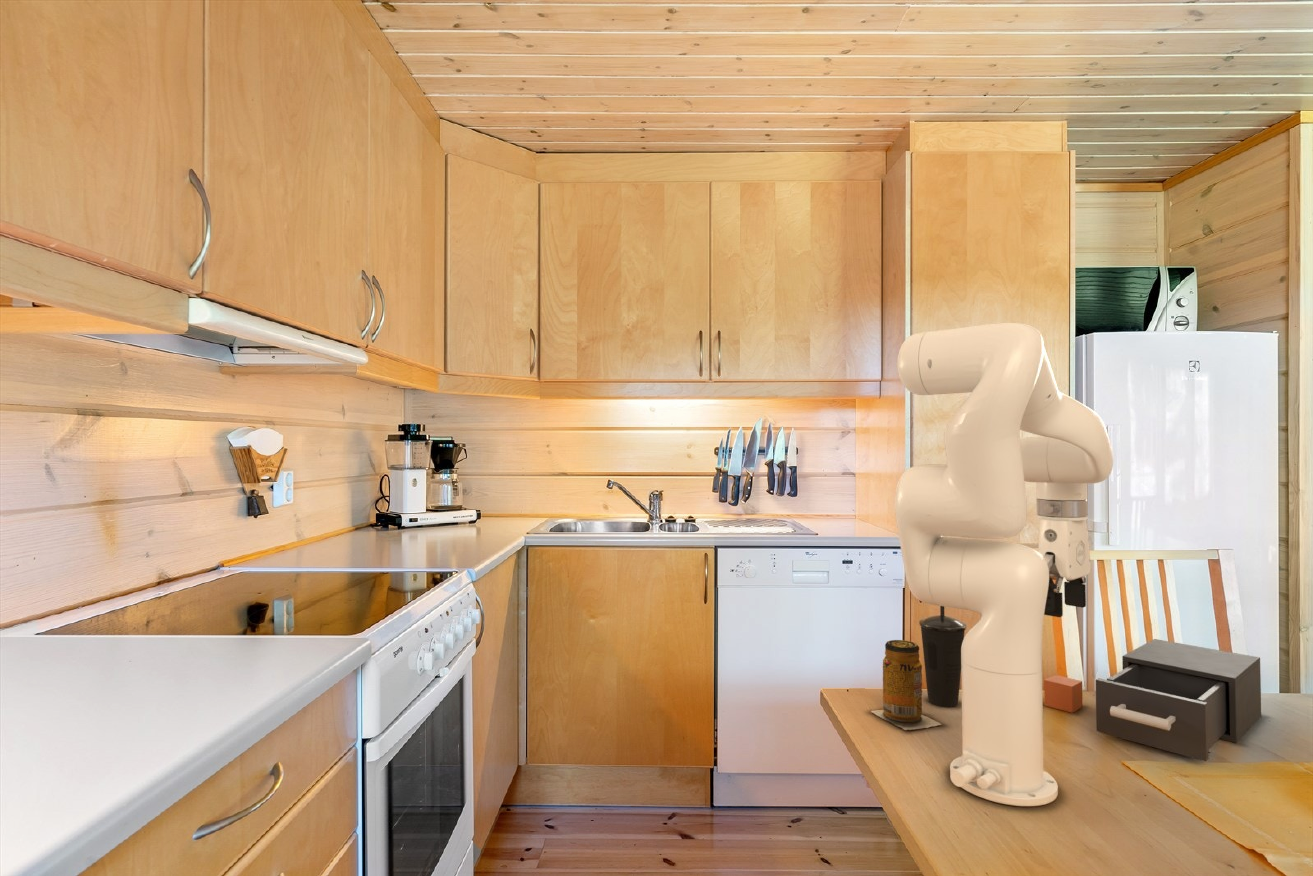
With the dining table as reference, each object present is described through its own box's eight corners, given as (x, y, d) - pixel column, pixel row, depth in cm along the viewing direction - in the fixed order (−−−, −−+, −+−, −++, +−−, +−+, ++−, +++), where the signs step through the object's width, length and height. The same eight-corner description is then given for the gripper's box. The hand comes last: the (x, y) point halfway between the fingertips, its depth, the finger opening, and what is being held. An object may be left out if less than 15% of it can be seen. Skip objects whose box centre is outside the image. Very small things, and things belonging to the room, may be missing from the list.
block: (1072, 713, 114) (1072, 686, 114) (1044, 705, 117) (1043, 679, 118) (1082, 707, 117) (1082, 681, 117) (1054, 699, 120) (1054, 674, 120)
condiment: (905, 707, 117) (905, 636, 117) (942, 725, 109) (941, 649, 109) (870, 712, 114) (869, 640, 115) (904, 732, 106) (904, 654, 107)
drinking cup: (972, 711, 115) (971, 591, 115) (923, 708, 116) (922, 590, 117) (961, 696, 122) (960, 583, 123) (916, 693, 124) (915, 581, 124)
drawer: (1197, 771, 91) (1196, 712, 92) (1085, 738, 102) (1084, 685, 102) (1234, 732, 104) (1233, 680, 104) (1131, 707, 114) (1130, 660, 114)
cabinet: (1236, 743, 102) (1235, 678, 102) (1123, 714, 114) (1122, 656, 114) (1261, 716, 113) (1260, 657, 113) (1155, 692, 124) (1154, 638, 124)
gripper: (1065, 515, 108) (1067, 624, 108) (1105, 507, 119) (1107, 606, 119) (1015, 512, 114) (1017, 615, 114) (1058, 505, 125) (1060, 599, 125)
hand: (1063, 610), depth 117 cm, fingers open, 9 cm apart
